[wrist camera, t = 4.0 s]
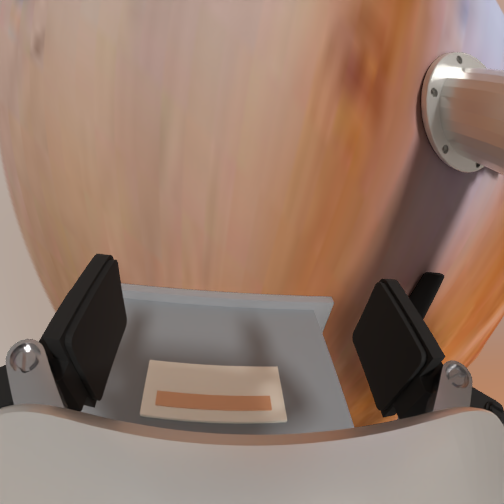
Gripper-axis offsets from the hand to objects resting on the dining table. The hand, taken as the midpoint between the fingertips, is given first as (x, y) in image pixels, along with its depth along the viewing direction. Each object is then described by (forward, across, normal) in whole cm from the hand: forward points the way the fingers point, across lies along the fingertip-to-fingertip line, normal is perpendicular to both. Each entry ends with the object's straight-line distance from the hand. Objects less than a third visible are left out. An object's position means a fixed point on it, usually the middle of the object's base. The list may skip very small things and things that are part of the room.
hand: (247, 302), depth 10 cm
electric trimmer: (+16, -23, +14) cm, 31 cm away
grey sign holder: (+14, +1, +15) cm, 21 cm away
